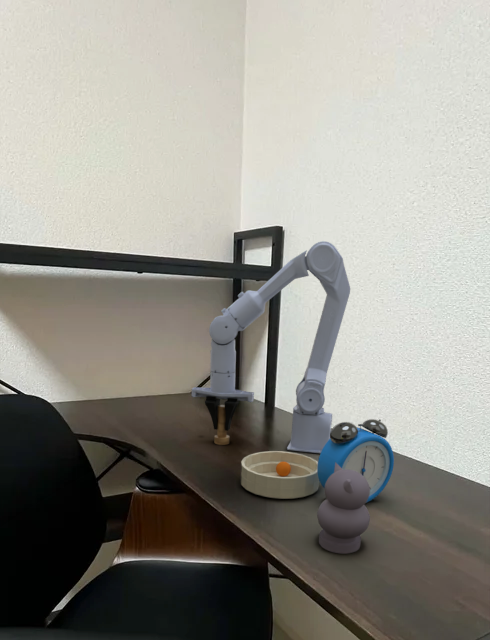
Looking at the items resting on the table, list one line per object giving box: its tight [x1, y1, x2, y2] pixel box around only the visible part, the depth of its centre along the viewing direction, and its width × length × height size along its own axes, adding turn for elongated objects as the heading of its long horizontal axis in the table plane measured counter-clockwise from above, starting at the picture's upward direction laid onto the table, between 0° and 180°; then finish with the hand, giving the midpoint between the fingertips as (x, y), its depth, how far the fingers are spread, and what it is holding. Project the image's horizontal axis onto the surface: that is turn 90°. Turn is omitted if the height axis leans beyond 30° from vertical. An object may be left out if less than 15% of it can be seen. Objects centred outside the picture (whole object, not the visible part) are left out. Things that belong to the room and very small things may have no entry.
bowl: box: [240, 450, 320, 500], centre depth 100 cm, size 15×15×4 cm
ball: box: [276, 462, 291, 476], centre depth 104 cm, size 3×3×3 cm
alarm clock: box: [317, 418, 395, 504], centre depth 93 cm, size 13×6×15 cm, turn 118°
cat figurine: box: [316, 462, 371, 554], centre depth 78 cm, size 8×8×12 cm
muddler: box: [213, 404, 230, 446], centre depth 123 cm, size 4×4×9 cm
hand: (222, 429), depth 124 cm, fingers closed on muddler, 2 cm apart
